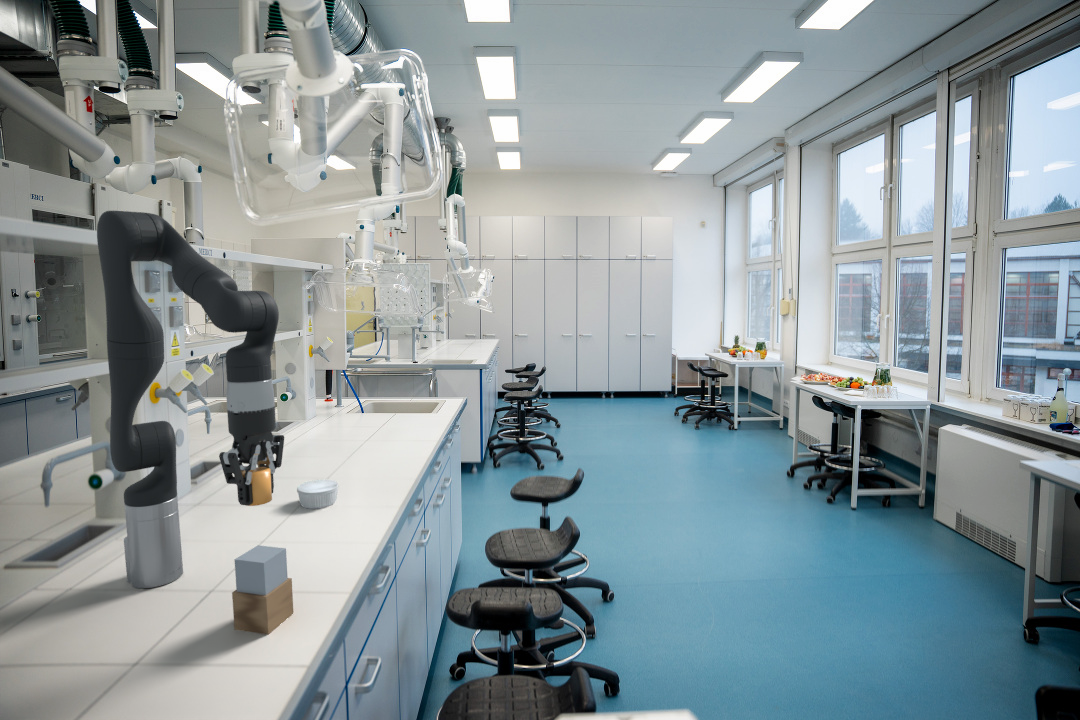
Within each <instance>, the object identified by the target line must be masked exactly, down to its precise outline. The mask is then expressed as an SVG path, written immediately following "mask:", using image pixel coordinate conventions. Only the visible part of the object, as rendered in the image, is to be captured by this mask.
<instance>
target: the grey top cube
mask: <svg viewBox="0 0 1080 720" xmlns="http://www.w3.org/2000/svg"><path fill="white" fill-rule="evenodd" d="M234 572H235V584H236V585H235V588H236V589H235V590H237V592H244V593H251V594H259V595H267V594H268V593H270V592H271V591H272V590H274V589H275V588H277V587H278V586H279V585H281V584H282V583H283V582H285V581H286V580H287V579H288V578H289V576H288V561H287V548H286V547H285V548H284V547H278V546H277V547H276V546H267V545H259V544H257V545H256V546H254V547H252V548H251V549H249V550H248V551H246V552H245V553H242V554H240V556H237V557H236V558H235V559H234Z"/></svg>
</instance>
